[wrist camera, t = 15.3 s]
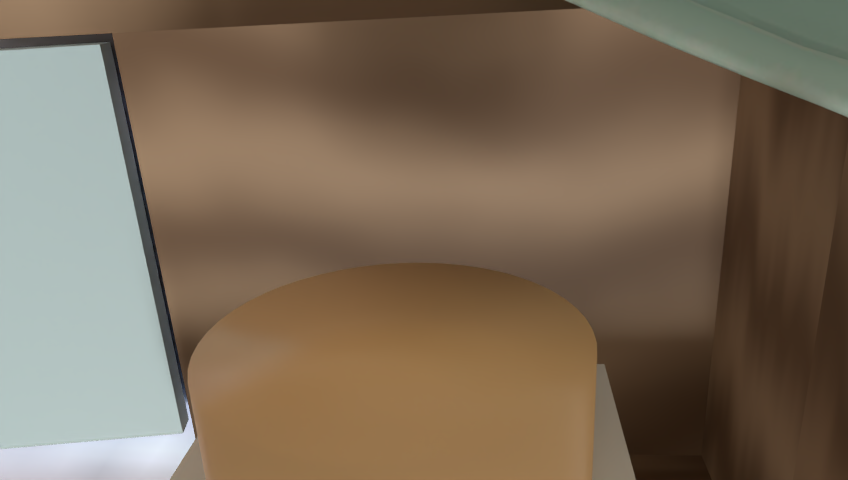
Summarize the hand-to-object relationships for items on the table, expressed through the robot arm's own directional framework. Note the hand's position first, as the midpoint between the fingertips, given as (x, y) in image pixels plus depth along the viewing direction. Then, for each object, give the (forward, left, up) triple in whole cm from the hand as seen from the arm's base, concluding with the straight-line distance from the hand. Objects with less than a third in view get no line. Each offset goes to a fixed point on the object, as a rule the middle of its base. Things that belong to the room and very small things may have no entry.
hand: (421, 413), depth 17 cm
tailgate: (0, -12, -10) cm, 16 cm away
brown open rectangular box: (0, 0, -11) cm, 11 cm away
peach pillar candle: (0, 0, 0) cm, 0 cm away
